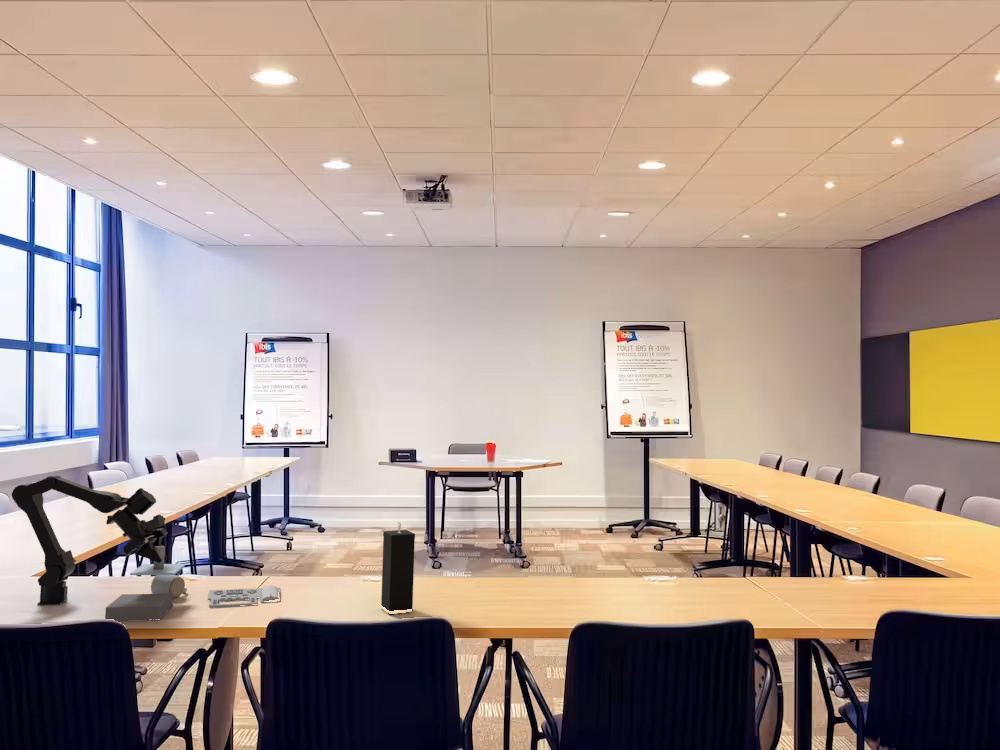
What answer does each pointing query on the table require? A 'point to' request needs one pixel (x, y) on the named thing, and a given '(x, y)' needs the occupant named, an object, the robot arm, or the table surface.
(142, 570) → the square plate with knob
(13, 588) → the table surface
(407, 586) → the black pillar candle
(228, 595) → the office telephone
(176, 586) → the ceramic mug
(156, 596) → the gray square slab
